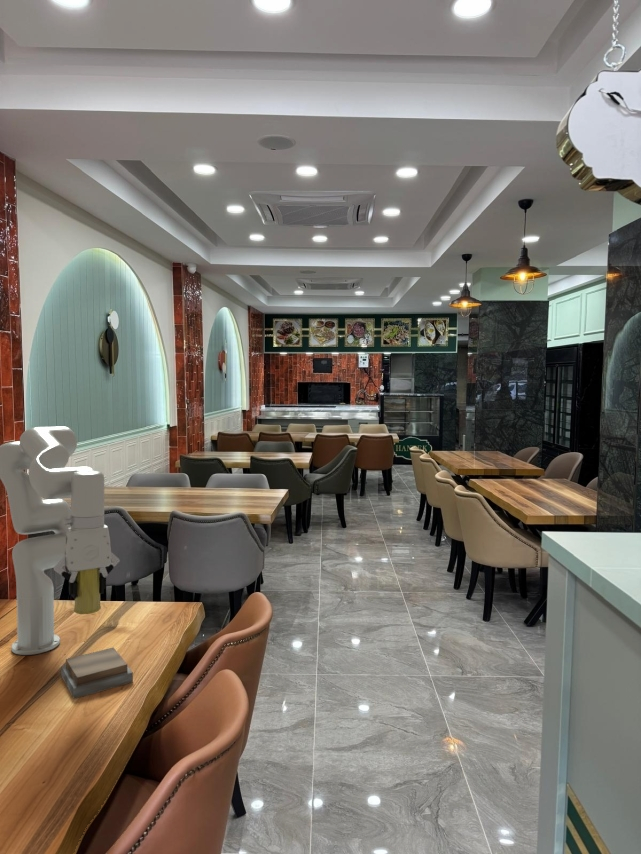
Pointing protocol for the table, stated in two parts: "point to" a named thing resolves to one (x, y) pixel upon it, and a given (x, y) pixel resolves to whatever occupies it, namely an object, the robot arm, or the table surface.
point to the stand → (95, 672)
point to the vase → (87, 592)
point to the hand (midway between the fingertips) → (87, 593)
